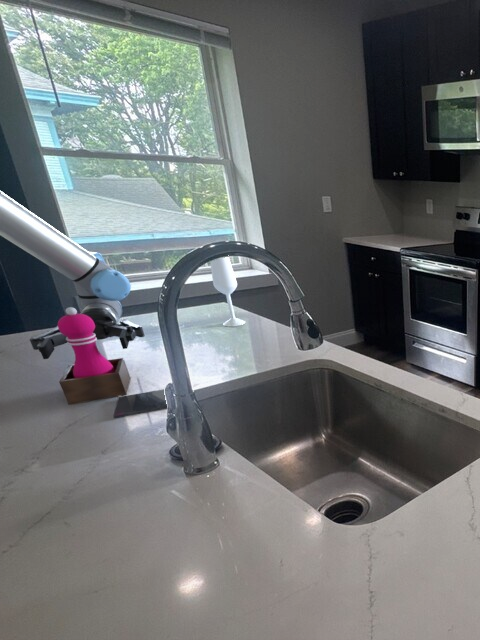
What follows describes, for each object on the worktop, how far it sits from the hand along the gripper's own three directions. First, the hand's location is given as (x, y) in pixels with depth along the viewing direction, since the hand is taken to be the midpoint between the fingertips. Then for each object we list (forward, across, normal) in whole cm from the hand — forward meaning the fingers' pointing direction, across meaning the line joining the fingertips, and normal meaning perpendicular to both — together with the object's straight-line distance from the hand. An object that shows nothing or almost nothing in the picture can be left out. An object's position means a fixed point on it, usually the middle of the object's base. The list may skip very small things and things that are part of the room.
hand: (84, 348), depth 103 cm
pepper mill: (-1, 0, -11) cm, 11 cm away
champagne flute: (-43, -30, -11) cm, 53 cm away
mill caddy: (-1, 0, -11) cm, 11 cm away
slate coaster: (+11, -9, -11) cm, 18 cm away
